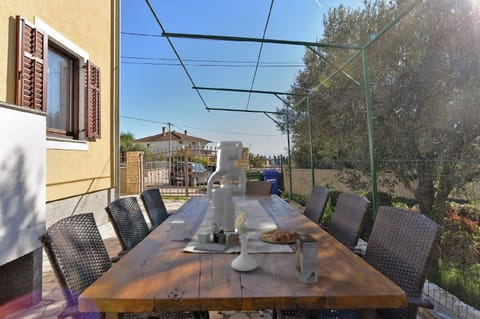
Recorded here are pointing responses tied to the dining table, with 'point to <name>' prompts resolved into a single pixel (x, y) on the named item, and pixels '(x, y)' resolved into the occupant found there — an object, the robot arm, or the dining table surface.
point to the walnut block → (233, 239)
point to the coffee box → (306, 258)
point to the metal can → (239, 231)
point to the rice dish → (279, 236)
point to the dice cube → (222, 238)
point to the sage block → (203, 237)
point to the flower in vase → (243, 248)
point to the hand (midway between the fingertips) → (218, 240)
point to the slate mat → (210, 247)
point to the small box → (177, 230)
